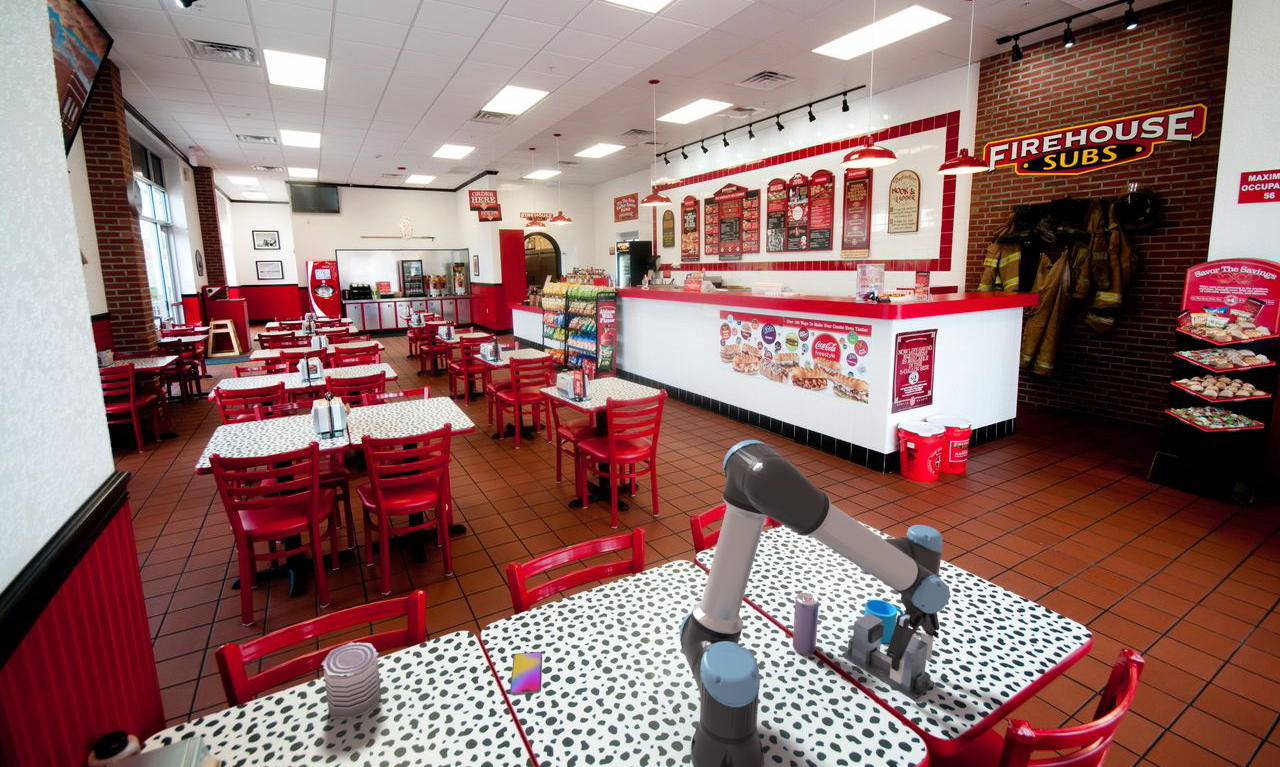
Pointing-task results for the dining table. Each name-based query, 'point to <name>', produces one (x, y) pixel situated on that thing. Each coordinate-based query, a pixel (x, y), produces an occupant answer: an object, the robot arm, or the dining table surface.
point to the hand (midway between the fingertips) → (910, 668)
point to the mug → (884, 616)
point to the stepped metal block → (913, 662)
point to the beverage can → (805, 623)
